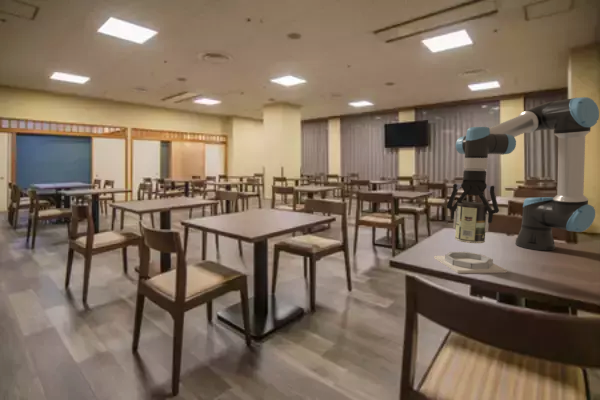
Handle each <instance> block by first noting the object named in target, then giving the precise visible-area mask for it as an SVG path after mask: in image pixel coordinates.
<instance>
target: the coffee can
mask: <svg viewBox="0 0 600 400" xmlns="http://www.w3.org/2000/svg"><path fill="white" fill-rule="evenodd" d="M486 207H487V205H484V204H483V202H481V201H480V202H476V201H462V202H461V203H457V209H456V210H457V218H456V228H455V236H454V239H455V240H456V241H458V242H461V243H468V244H483V243H485V242H486V232H485V221H486V214H487V213H488V211H487V209H486Z"/></svg>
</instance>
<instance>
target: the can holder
mask: <svg viewBox="0 0 600 400" xmlns="http://www.w3.org/2000/svg"><path fill="white" fill-rule="evenodd" d="M433 258H434V259H435V260H436V261H438V262H440V263H441V264H442V265H444V266H445V267H447V268H449V270H452V271H453V272H455V273H456V274H489V273H491V274H492V273H493V274H495V273H497V274H499V273H500V274H501V273H504V274H505V273H507V269H505V268H503V267H501V266H500V265H497V264H496V263H494V259H493V258H491V257H489V256H486V255H484V254H481V253H475V252H469V251H449V252H447V253H446V254H444V255H434V257H433Z"/></svg>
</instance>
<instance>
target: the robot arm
mask: <svg viewBox="0 0 600 400" xmlns="http://www.w3.org/2000/svg"><path fill="white" fill-rule="evenodd" d="M599 119H600V111H599V107H598V104H597V103H596V102H595V100H593V98H590V97H585V96H583V97H573V98H567V99H566V98H565V99H559V100H554V101H548V102H545V103H542V104H539V105H536V106H534V107H531V108H529V109H527V110H525V111H522V112H520V113H519V114H518V115H517V116H516V117H513V118H510V119H508V120H506V121H503V122H501V123H498V124H495V125H493V126H491V127H487V126H474V127H473V126H471V127H469V128H468V129H466V135H463V136H460V137H459V138H458V139H457V140H456V142H455V150H456V151H457V153H458V154H461V155H464V159H463V161H464V163H463V169H465V170H463V174H462V183H454V184H453V185H452V191H451V195H450V197H449V200H448V203H447V205H446V209H448V210H450V211H451V214H450V215H451V216H450V219H452V220H453V227H452V228H453V229H456V218H457V203H461V202H464V199H465V198H466V197H467V195H468V196H476V197H477V196H479V198H480V201H481V203H483V204H484V205H487V207H486V209H487V214H486V221H485V233H488V232H489V226H490V225H489V224H492V223H493V217H494V214H498V213H499V212H500V209H499V205H498V201H497V197H496V192H495V189H496V186H495V185H494V184H493V185H489V184H488V185H487V182H486V181H487V168H488V155H508V154H509V155H510V154H511V153H512V152H513V151H515V149H516V146H517V140H516V138H515V137H518V136H520V135H523V134H530V133H533V132H537V131H549V130H551V131H552V130H553V135H554V136H555V137H557V138H558V142H557V148H558V150H557V151H558V152H557V189H556V190H557V193H556V195H555V196H554V197H553V196H548V197H547V196H545V197H526V198H525V199H524V200H523V204H522V216H521V225H520V226H521V227H520V230H519V233H518V235H517V237H516V238H515V245H516V246H518V247H521V248H523V249H528V250H536V251H554V250H555V249H556V243H555V239H554V236H553V232H552V231H553V229H560V230H565V231H568V232H576V233H582V232H585V231H586V230H589V228H590V227H591V226H592V224H593V223H594V220H595V218H596V210H595V207H594V206H592V205H591V204H589V198H587V196H585V194H584V187H585V185H584V182H585V158H586V157H585V156H586V155H585V154H586V153H585V152H586V150H585V149H586V136H587V135H588V134H589V133H590V132H591V129H592V127H594V126H595V125H596V124H598V120H599ZM460 188H462V190H463V192H462V194H460V196H459V198H458V199H457V200H456V202H455V198H456V196H457V193H458V191H459V190H460ZM486 189H487V191H488V192H489V195H490V199H491V203H492V207H493V209H492V207H491V205H490V203H489V201H488V200H487V198H486V196H485V193H484V191H485V190H486ZM454 202H455V203H454ZM453 204H454V205H453Z"/></svg>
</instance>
